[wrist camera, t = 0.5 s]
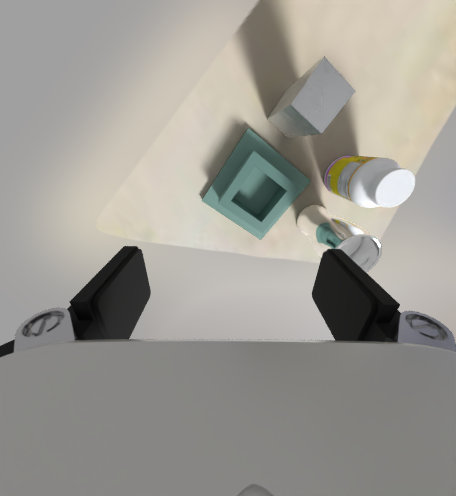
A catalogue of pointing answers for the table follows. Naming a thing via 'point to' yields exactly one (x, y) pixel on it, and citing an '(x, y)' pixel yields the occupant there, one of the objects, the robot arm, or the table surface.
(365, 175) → the supplement bottle
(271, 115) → the silver square block
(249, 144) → the well
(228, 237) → the table surface
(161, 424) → the robot arm
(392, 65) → the table surface
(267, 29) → the table surface
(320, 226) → the beer glass
